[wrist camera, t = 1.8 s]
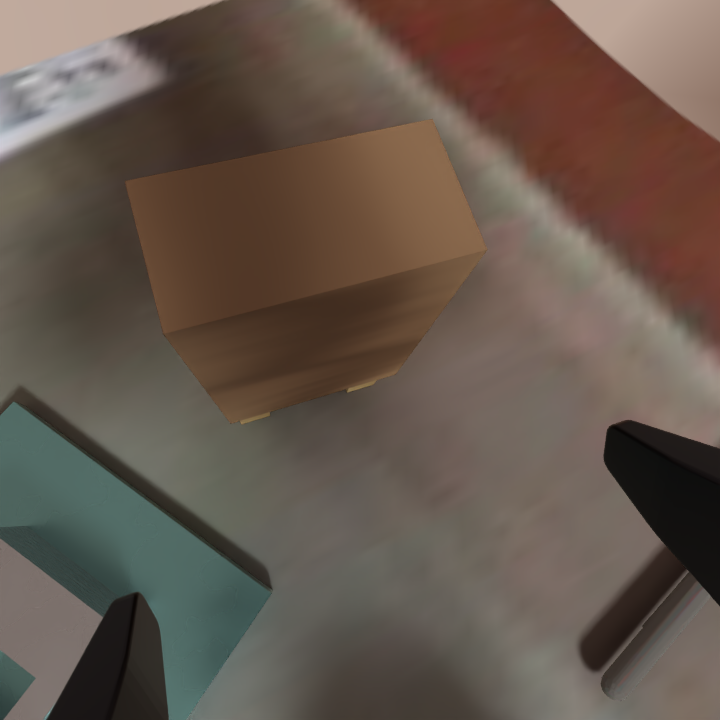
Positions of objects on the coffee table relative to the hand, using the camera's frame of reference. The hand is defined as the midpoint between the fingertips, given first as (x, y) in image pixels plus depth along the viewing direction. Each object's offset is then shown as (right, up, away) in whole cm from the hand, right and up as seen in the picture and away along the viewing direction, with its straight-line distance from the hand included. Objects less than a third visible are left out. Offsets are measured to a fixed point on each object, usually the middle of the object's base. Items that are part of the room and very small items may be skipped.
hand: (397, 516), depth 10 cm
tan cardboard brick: (-3, +2, +13) cm, 13 cm away
